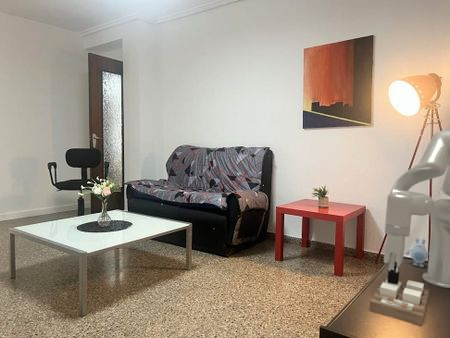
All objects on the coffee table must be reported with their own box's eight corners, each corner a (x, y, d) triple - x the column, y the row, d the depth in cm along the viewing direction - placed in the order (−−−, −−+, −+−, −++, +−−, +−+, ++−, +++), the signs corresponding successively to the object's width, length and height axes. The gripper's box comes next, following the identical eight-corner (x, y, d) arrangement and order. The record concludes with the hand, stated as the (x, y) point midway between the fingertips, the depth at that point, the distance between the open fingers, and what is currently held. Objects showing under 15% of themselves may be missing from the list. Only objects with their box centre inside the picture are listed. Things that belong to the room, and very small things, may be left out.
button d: (404, 296, 109) (404, 287, 109) (420, 300, 106) (421, 291, 106) (402, 301, 105) (402, 292, 105) (419, 305, 103) (419, 297, 102)
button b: (407, 287, 115) (408, 279, 115) (423, 291, 113) (423, 283, 113) (405, 292, 112) (406, 284, 111) (421, 296, 109) (422, 288, 109)
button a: (386, 286, 119) (387, 278, 119) (400, 290, 117) (401, 282, 116) (383, 290, 116) (384, 282, 115) (398, 294, 113) (399, 286, 113)
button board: (383, 286, 122) (383, 277, 122) (428, 298, 114) (428, 288, 114) (369, 310, 104) (370, 299, 104) (421, 325, 96) (422, 314, 96)
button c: (382, 290, 113) (382, 282, 112) (397, 294, 110) (398, 286, 110) (379, 295, 109) (380, 286, 109) (395, 299, 106) (396, 290, 106)
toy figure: (403, 265, 146) (405, 237, 145) (405, 261, 151) (407, 234, 150) (432, 271, 140) (434, 242, 139) (433, 266, 145) (435, 239, 144)
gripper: (389, 224, 123) (384, 273, 124) (380, 232, 110) (376, 286, 112) (412, 227, 118) (408, 278, 120) (406, 236, 106) (401, 293, 108)
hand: (392, 282), depth 116 cm, fingers closed
